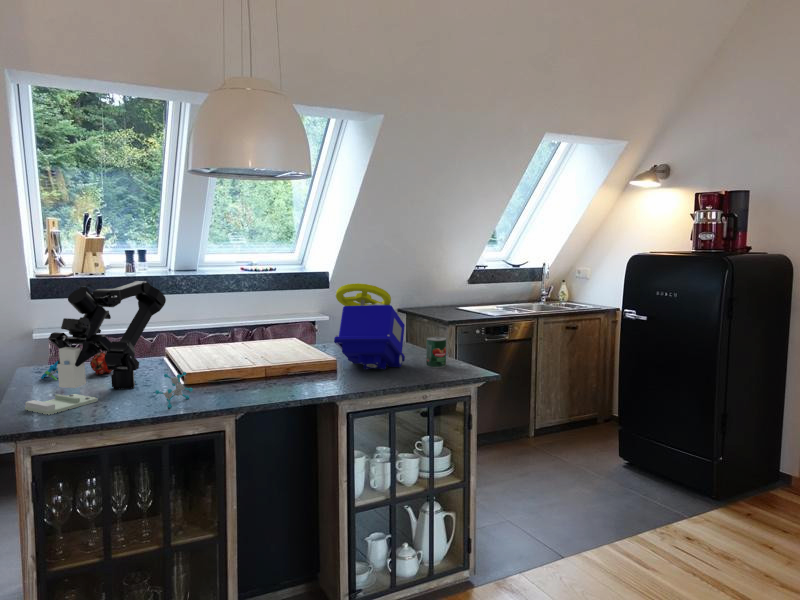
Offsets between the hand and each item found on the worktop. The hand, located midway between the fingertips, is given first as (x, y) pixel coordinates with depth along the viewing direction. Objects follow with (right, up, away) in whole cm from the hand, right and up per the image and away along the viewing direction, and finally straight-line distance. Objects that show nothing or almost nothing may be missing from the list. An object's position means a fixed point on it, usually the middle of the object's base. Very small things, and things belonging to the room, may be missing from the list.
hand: (67, 365), depth 182 cm
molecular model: (+29, -13, +8) cm, 32 cm away
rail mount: (-4, -13, +4) cm, 14 cm away
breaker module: (0, -6, +2) cm, 7 cm away
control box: (+86, -7, +60) cm, 105 cm away
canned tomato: (+114, -7, +60) cm, 129 cm away
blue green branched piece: (-26, -9, +37) cm, 46 cm away
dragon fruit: (-11, -8, +45) cm, 47 cm away
